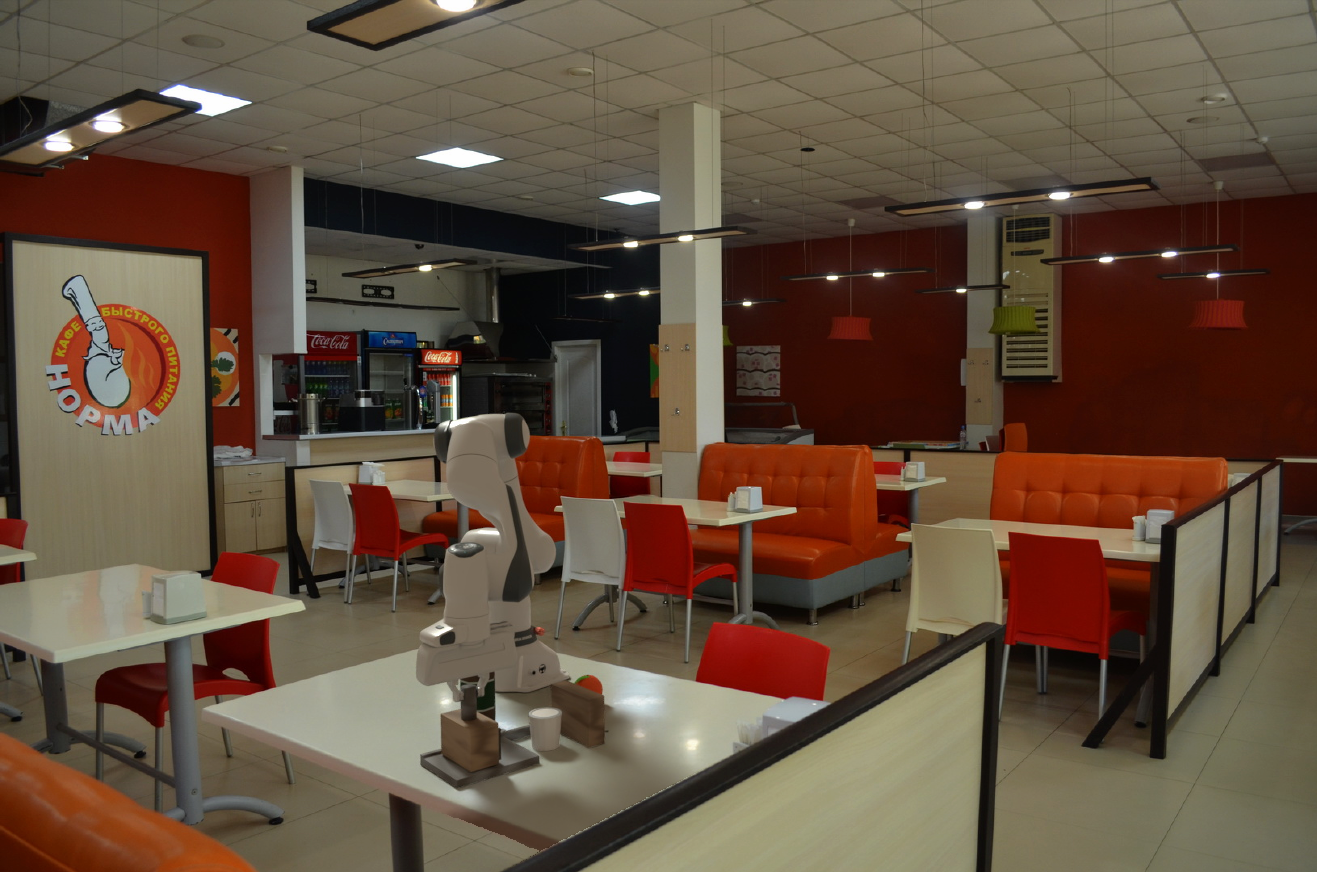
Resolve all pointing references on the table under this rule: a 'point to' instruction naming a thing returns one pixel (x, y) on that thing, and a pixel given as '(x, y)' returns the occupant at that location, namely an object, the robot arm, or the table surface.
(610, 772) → the table surface
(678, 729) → the table surface
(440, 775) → the frame
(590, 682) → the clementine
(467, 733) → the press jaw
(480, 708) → the beer bottle
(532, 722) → the white cup
